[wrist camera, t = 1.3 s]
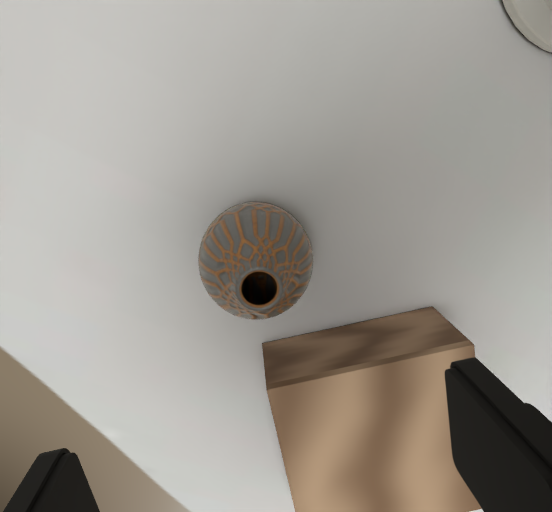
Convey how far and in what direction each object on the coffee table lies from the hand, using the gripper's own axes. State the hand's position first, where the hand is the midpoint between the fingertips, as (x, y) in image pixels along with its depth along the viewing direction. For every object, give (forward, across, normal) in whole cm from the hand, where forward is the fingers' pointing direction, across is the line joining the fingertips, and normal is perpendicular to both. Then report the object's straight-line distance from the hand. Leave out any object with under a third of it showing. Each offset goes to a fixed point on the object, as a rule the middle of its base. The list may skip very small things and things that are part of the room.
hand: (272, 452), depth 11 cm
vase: (+20, 0, 0) cm, 20 cm away
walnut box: (+20, -6, +14) cm, 25 cm away
